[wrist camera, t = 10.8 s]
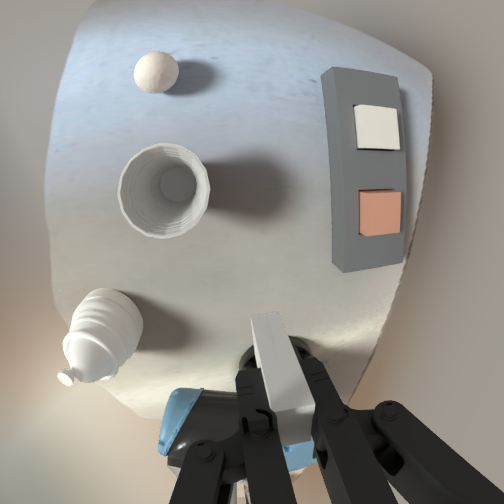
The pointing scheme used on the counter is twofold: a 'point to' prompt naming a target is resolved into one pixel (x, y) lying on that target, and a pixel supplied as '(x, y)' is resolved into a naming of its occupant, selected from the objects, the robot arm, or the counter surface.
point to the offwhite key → (376, 127)
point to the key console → (361, 167)
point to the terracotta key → (379, 212)
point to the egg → (156, 72)
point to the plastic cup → (163, 190)
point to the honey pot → (101, 336)
